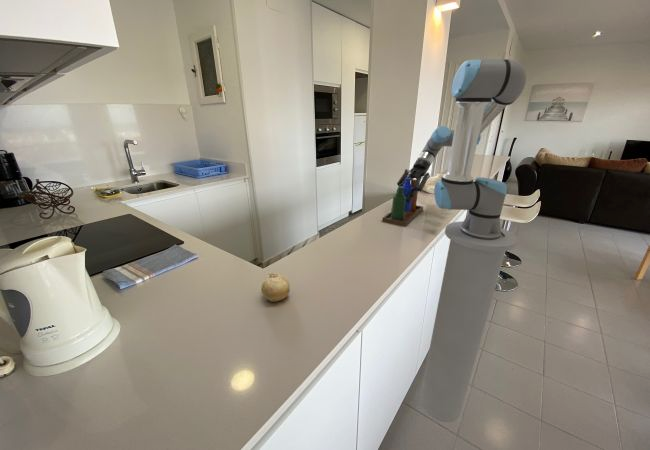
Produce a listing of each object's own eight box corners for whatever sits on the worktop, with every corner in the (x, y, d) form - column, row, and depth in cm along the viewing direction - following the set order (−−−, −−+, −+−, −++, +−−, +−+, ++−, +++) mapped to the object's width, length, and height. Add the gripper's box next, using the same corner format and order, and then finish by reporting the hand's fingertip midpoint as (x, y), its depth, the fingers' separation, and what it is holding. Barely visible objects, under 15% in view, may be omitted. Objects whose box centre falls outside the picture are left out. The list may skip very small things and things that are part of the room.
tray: (422, 210, 153) (423, 206, 152) (405, 226, 130) (405, 222, 129) (402, 206, 159) (402, 203, 158) (382, 221, 136) (382, 217, 135)
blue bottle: (411, 209, 144) (415, 178, 138) (408, 212, 139) (412, 180, 133) (400, 207, 147) (404, 176, 141) (396, 210, 143) (400, 178, 136)
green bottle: (404, 219, 137) (408, 186, 131) (400, 223, 132) (404, 189, 126) (393, 217, 140) (396, 185, 134) (389, 220, 136) (392, 187, 129)
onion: (294, 291, 81) (293, 270, 79) (283, 308, 74) (281, 285, 72) (269, 286, 83) (268, 266, 81) (256, 302, 76) (254, 280, 74)
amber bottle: (416, 209, 153) (420, 179, 147) (413, 211, 148) (417, 181, 142) (406, 207, 156) (409, 178, 150) (402, 209, 151) (406, 180, 145)
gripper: (442, 170, 139) (420, 207, 135) (409, 165, 152) (388, 199, 148) (439, 160, 133) (416, 199, 129) (405, 156, 147) (383, 191, 143)
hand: (401, 199), depth 139 cm, fingers closed on blue bottle, 6 cm apart
